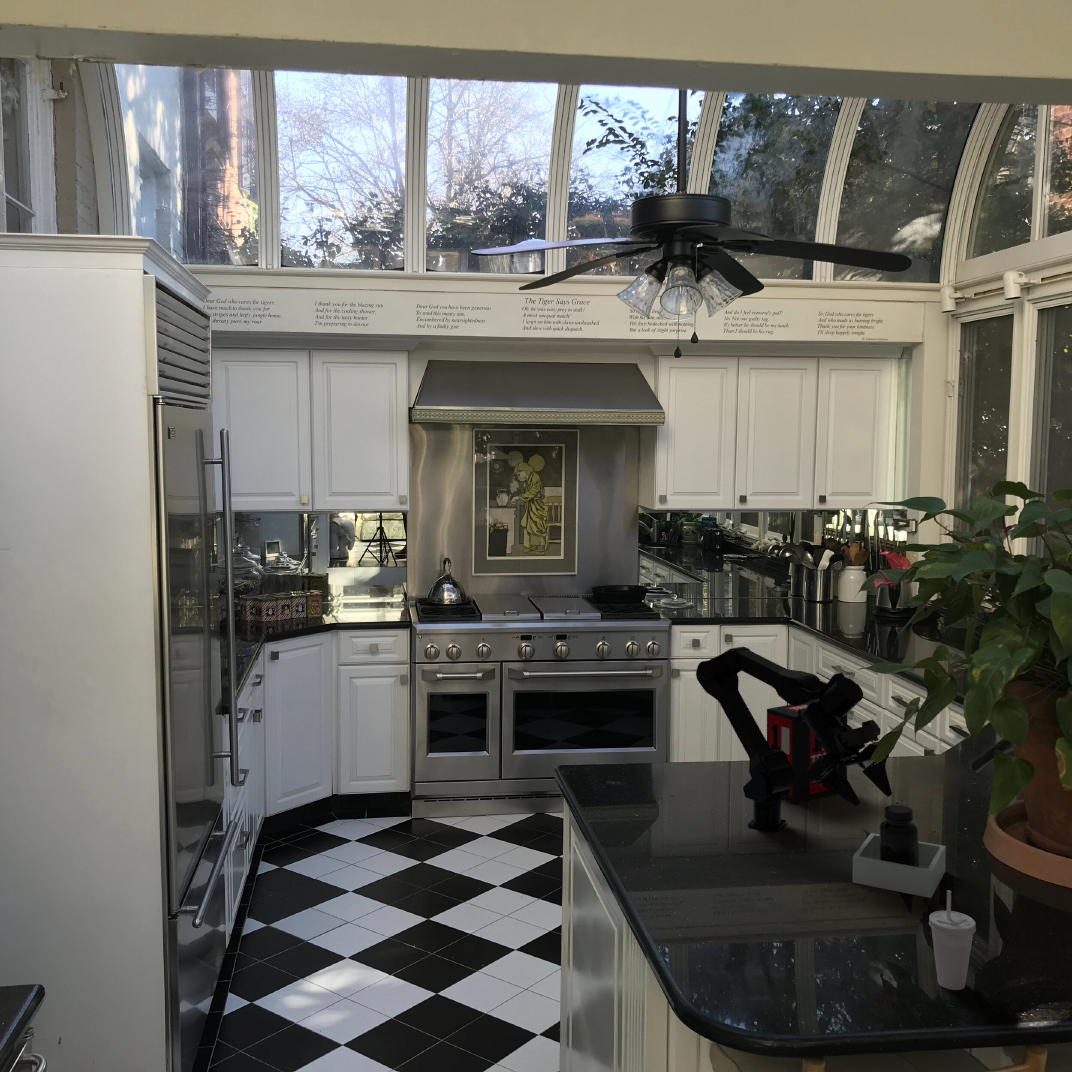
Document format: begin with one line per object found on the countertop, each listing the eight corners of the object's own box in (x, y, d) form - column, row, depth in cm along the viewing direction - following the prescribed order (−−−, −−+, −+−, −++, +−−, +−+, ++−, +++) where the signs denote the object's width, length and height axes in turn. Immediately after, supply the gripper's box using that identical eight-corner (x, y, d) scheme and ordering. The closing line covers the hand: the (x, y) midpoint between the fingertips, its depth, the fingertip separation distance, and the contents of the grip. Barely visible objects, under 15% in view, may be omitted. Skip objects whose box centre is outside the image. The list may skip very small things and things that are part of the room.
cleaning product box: (818, 781, 244) (818, 699, 242) (846, 791, 236) (847, 706, 235) (766, 793, 236) (766, 708, 234) (794, 804, 228) (794, 716, 226)
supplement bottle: (900, 862, 192) (901, 800, 191) (927, 876, 186) (927, 811, 185) (871, 868, 189) (871, 805, 189) (896, 882, 183) (897, 817, 182)
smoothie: (920, 974, 152) (921, 882, 151) (961, 971, 153) (962, 880, 152) (940, 996, 146) (942, 901, 145) (983, 993, 146) (985, 899, 145)
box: (870, 857, 197) (871, 833, 196) (945, 871, 190) (945, 846, 189) (852, 882, 185) (852, 856, 185) (931, 898, 178) (931, 871, 178)
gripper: (819, 714, 189) (867, 788, 181) (884, 700, 200) (932, 769, 191) (787, 746, 197) (831, 818, 188) (851, 731, 207) (896, 798, 198)
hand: (874, 800), depth 191 cm, fingers open, 9 cm apart
